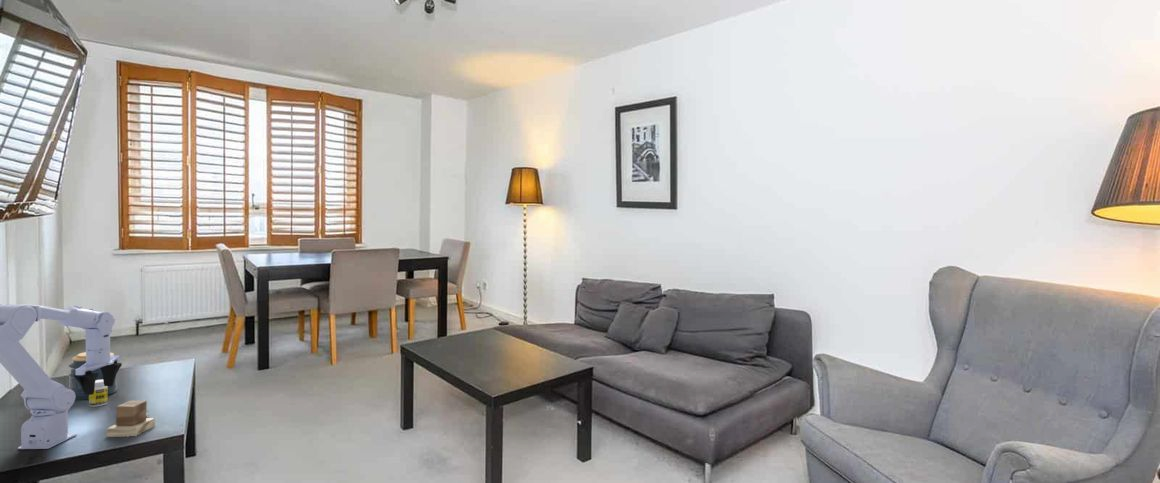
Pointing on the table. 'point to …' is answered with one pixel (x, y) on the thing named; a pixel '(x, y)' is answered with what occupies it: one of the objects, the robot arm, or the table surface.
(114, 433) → the maple block
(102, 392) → the supplement bottle
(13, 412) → the table surface
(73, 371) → the canister
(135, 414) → the walnut cube
